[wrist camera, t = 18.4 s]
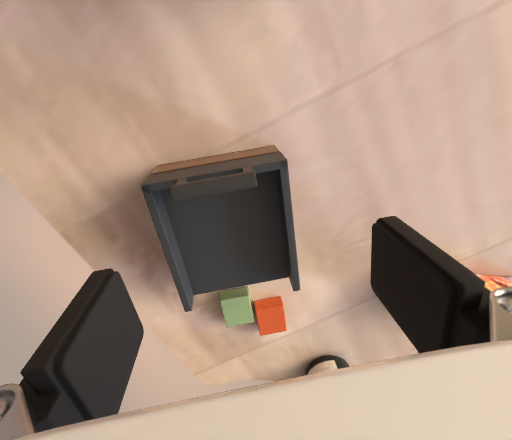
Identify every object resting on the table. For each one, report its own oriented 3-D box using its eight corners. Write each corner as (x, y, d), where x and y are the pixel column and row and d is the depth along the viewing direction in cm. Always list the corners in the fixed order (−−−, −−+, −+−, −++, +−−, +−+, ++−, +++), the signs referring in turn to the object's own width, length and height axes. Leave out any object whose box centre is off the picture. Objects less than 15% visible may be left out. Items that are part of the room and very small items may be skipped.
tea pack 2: (260, 336, 42) (258, 325, 44) (286, 330, 42) (284, 321, 44) (255, 310, 40) (254, 301, 42) (283, 305, 40) (280, 296, 42)
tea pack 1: (226, 327, 41) (226, 317, 43) (254, 322, 41) (252, 312, 43) (219, 300, 39) (219, 291, 40) (248, 295, 39) (247, 286, 41)
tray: (147, 172, 28) (128, 195, 23) (280, 148, 29) (295, 166, 23) (188, 293, 36) (181, 335, 30) (293, 273, 36) (308, 310, 30)
